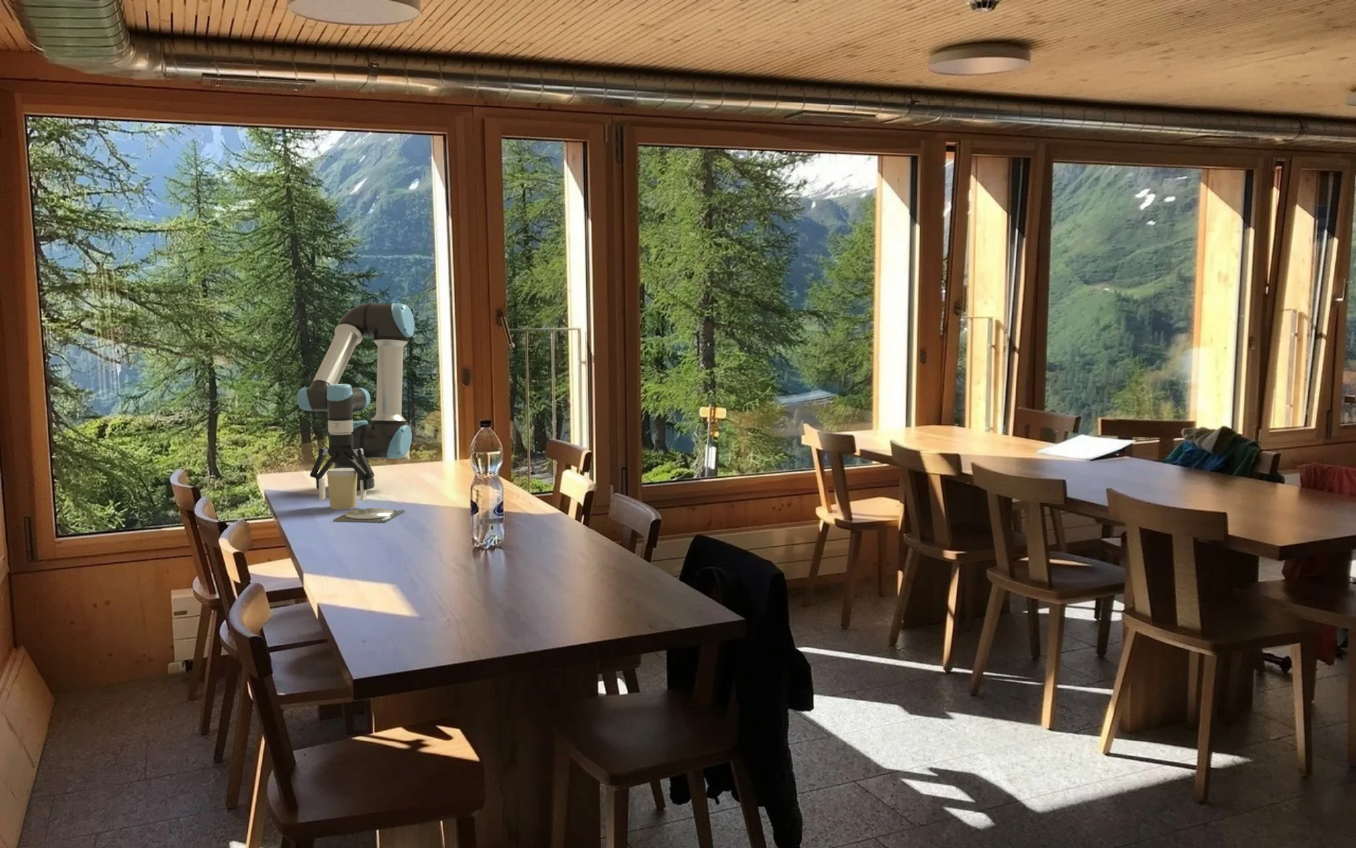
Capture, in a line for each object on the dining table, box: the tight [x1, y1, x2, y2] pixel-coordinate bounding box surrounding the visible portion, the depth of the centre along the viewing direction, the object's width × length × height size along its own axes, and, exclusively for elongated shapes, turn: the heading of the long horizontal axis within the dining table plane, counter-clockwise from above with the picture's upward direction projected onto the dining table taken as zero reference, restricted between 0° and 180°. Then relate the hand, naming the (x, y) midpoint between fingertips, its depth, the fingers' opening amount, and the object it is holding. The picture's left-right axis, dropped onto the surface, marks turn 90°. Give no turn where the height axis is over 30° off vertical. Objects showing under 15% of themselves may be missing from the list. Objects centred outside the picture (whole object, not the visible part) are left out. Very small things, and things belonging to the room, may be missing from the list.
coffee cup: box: [326, 468, 358, 511], centre depth 332 cm, size 9×9×12 cm
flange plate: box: [332, 507, 406, 524], centre depth 319 cm, size 16×16×1 cm
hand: (342, 499), depth 333 cm, fingers open, 13 cm apart
